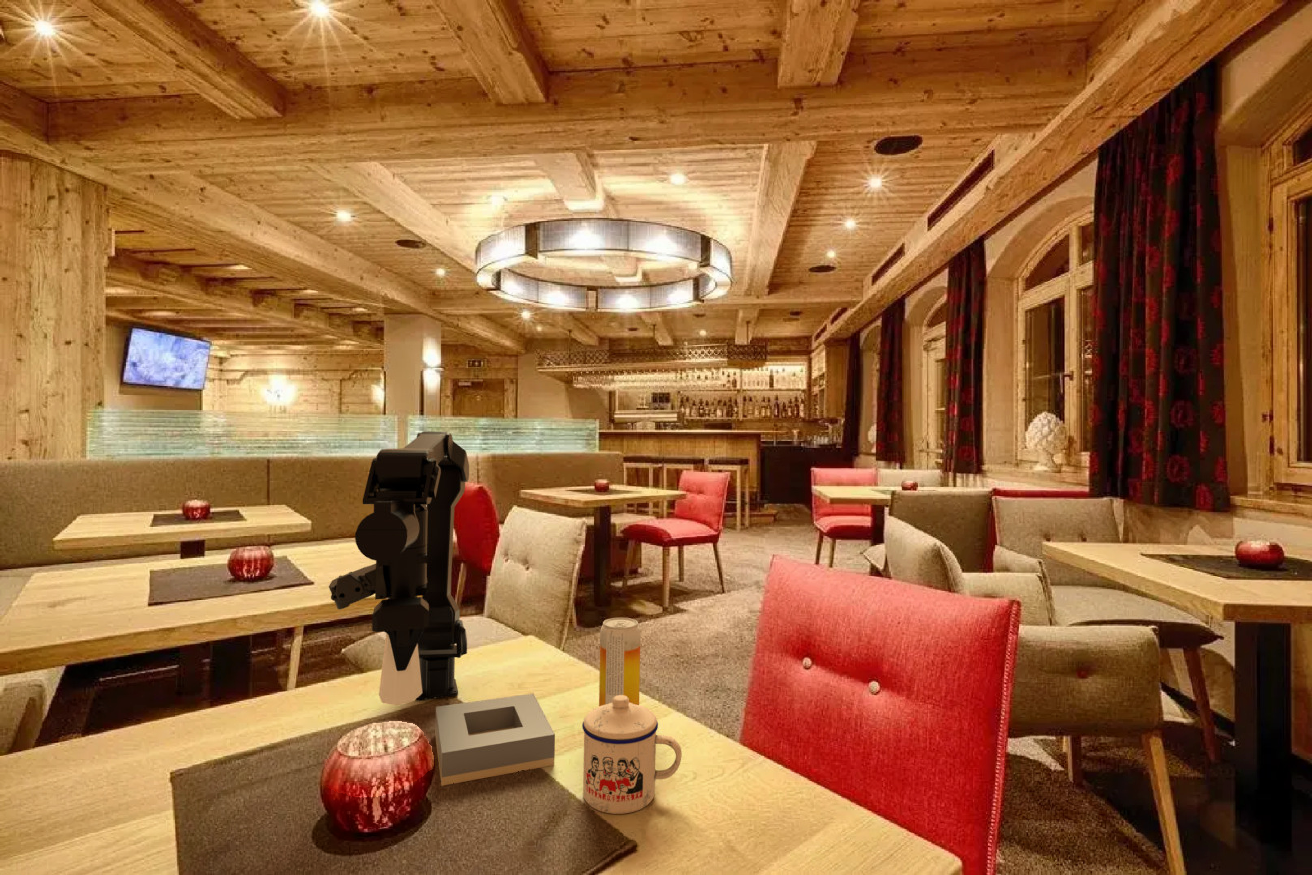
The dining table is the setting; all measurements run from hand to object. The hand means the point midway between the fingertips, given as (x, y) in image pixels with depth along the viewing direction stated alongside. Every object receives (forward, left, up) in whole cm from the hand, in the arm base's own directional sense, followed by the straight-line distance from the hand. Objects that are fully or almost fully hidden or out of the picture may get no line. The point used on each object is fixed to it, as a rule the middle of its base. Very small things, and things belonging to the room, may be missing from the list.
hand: (401, 664), depth 82 cm
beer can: (-1, +31, -13) cm, 33 cm away
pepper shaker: (-1, 0, -4) cm, 4 cm away
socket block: (+1, +12, -13) cm, 17 cm away
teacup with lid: (+18, +26, -13) cm, 34 cm away
